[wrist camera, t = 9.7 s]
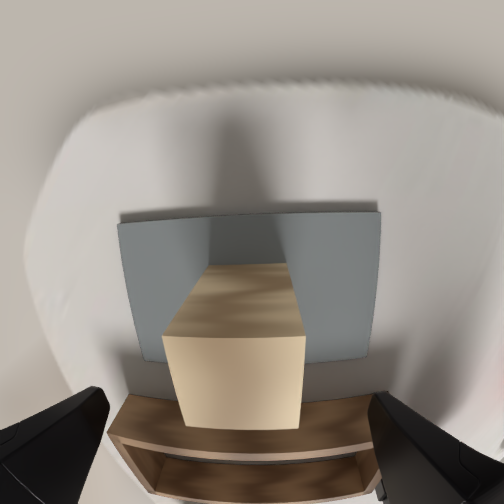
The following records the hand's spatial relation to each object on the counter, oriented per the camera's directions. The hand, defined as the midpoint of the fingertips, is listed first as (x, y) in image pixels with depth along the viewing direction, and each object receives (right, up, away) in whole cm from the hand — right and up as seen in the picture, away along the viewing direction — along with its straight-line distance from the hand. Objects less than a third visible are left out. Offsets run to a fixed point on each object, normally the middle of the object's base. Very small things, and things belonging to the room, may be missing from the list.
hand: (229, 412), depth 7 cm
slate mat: (+1, +2, +9) cm, 10 cm away
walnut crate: (+1, -12, +13) cm, 18 cm away
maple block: (+1, +2, +9) cm, 9 cm away
